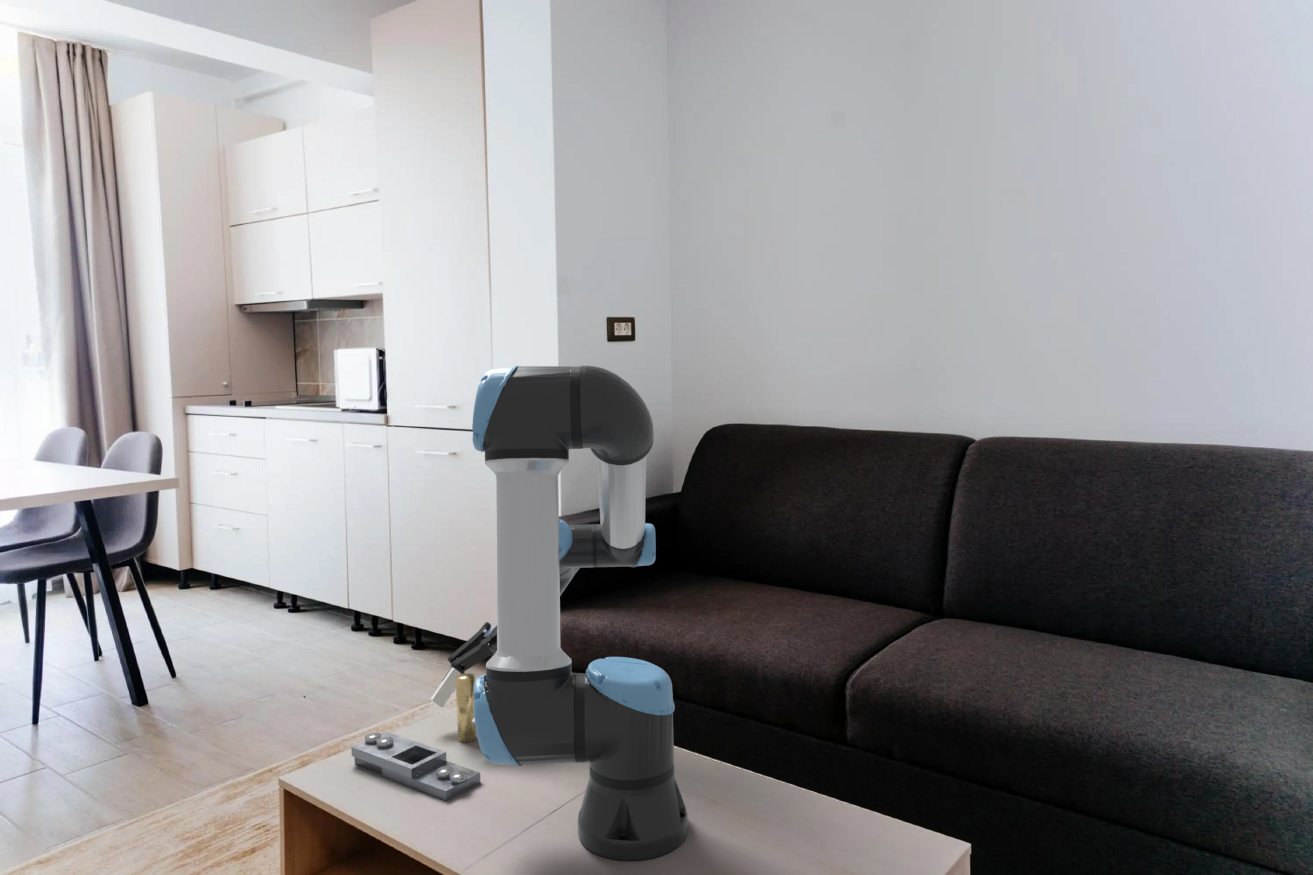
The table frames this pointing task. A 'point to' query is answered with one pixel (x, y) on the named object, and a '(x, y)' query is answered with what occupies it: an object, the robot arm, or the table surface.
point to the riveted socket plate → (414, 765)
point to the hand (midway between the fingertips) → (456, 714)
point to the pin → (465, 707)
